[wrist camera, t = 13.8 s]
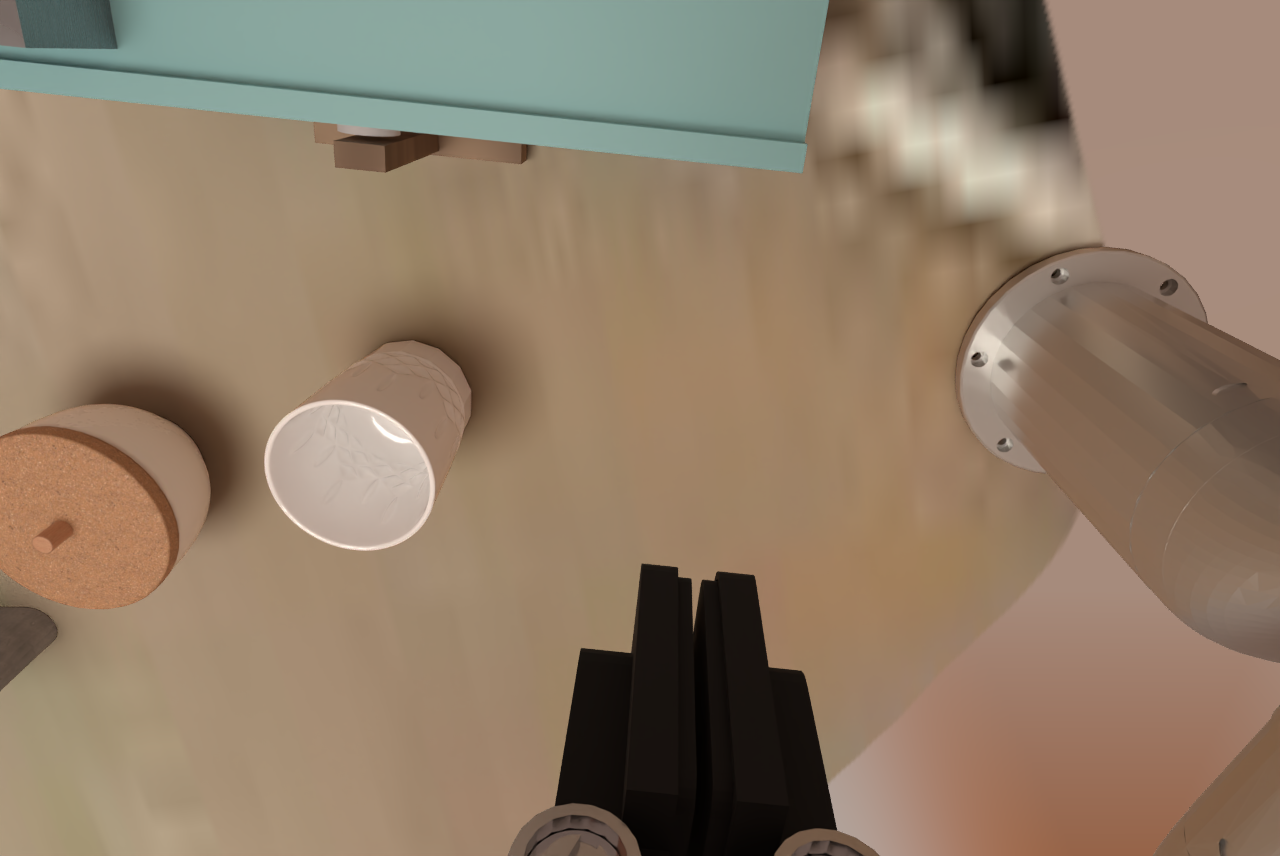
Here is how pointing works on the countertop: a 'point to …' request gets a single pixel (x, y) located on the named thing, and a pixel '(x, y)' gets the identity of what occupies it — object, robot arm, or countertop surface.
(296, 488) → the white cup
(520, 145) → the stand
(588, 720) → the robot arm
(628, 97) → the beam
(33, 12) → the block
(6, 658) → the hip flask
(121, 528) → the lidded jar
